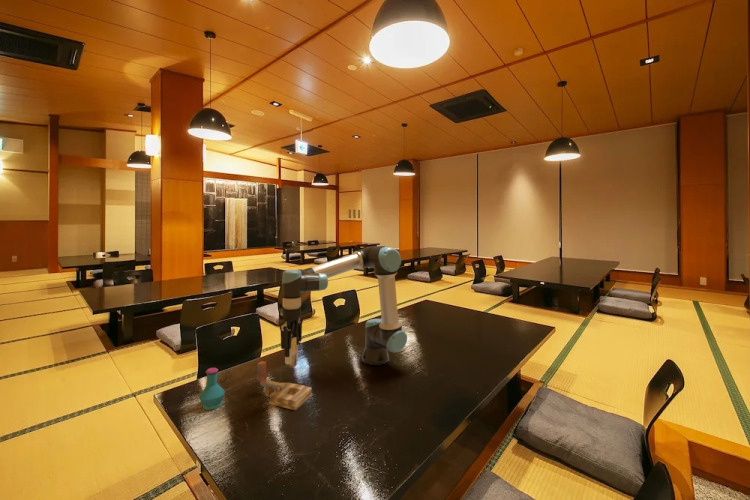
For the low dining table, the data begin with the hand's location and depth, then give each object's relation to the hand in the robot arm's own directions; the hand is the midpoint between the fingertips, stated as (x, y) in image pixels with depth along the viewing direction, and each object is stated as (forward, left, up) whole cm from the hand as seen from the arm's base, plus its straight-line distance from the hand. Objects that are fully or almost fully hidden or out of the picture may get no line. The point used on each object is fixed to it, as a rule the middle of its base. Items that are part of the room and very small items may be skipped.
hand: (291, 361), depth 137 cm
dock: (+3, 0, -17) cm, 17 cm away
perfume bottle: (+27, +16, -17) cm, 36 cm away
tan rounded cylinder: (0, 0, -2) cm, 2 cm away
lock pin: (+11, 0, -13) cm, 17 cm away
